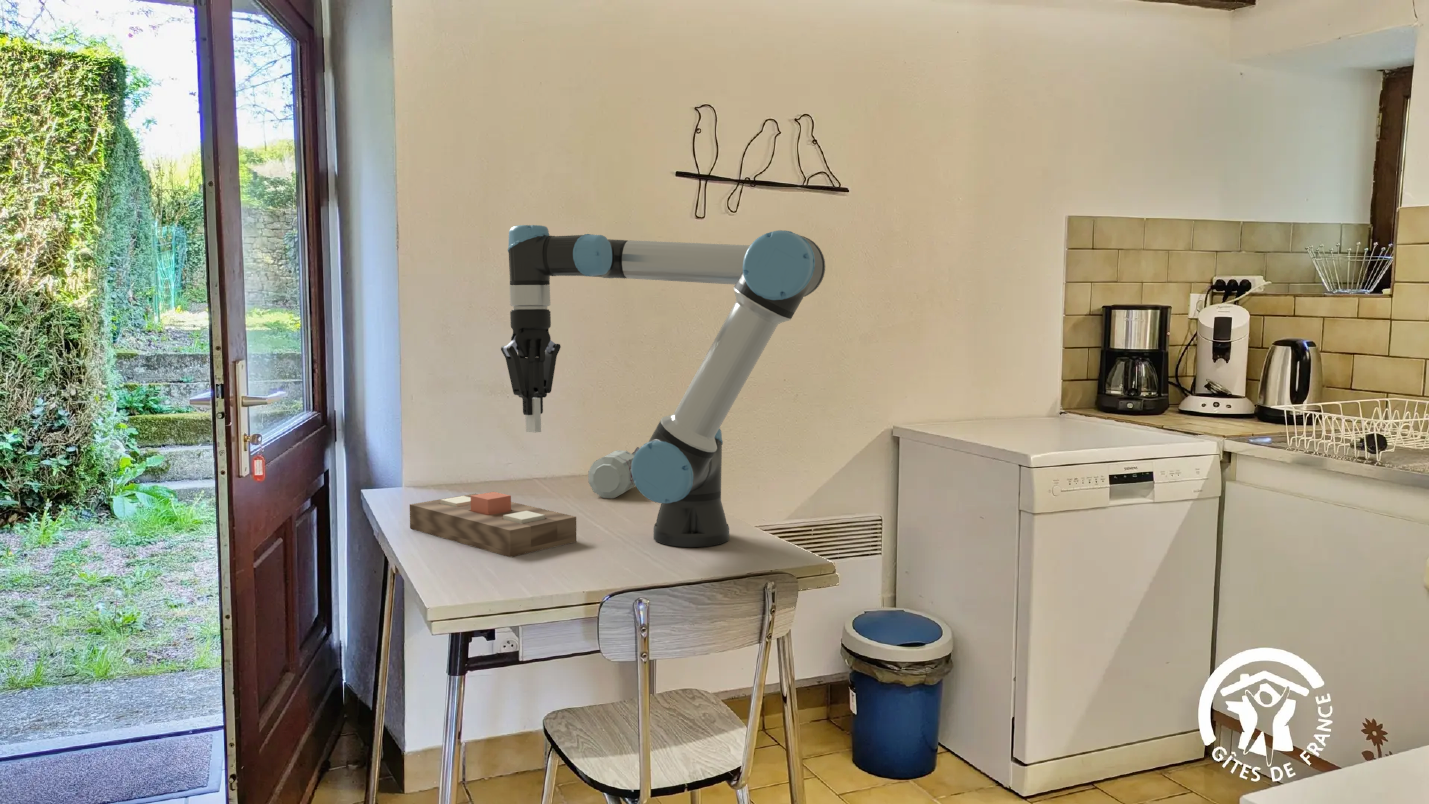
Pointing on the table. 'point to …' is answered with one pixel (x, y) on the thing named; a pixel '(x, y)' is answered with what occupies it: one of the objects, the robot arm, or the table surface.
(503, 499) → the button middle
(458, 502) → the button back
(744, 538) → the table surface
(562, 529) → the wooden button box
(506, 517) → the button front
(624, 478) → the device
